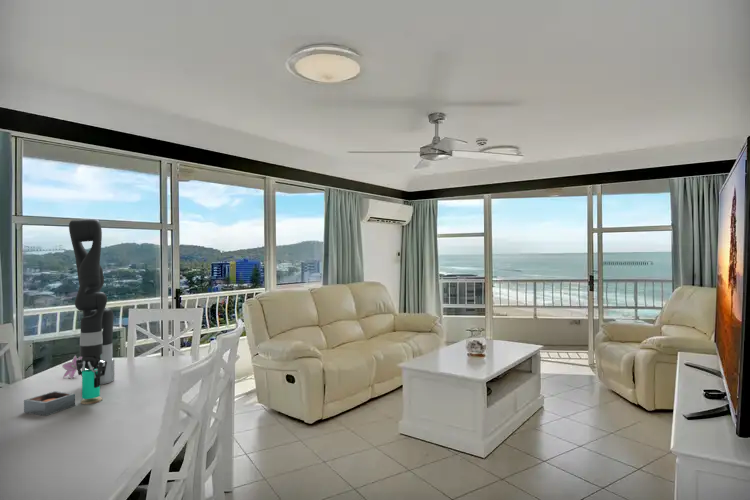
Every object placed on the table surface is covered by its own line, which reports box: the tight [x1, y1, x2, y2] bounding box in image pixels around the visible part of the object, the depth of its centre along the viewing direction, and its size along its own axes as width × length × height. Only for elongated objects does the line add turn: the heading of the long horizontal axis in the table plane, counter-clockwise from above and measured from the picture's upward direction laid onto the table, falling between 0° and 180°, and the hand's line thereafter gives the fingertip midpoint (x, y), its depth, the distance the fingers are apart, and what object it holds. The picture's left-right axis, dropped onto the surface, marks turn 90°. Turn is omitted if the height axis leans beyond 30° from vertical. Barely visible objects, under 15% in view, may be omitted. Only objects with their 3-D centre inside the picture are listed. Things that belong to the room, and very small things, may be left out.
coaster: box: [80, 396, 103, 405], centre depth 170 cm, size 7×7×1 cm
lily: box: [61, 354, 82, 380], centre depth 206 cm, size 12×12×10 cm
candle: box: [81, 369, 101, 400], centre depth 170 cm, size 6×6×12 cm
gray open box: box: [23, 390, 76, 417], centre depth 162 cm, size 11×11×4 cm
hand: (91, 386), depth 170 cm, fingers closed on candle, 5 cm apart
